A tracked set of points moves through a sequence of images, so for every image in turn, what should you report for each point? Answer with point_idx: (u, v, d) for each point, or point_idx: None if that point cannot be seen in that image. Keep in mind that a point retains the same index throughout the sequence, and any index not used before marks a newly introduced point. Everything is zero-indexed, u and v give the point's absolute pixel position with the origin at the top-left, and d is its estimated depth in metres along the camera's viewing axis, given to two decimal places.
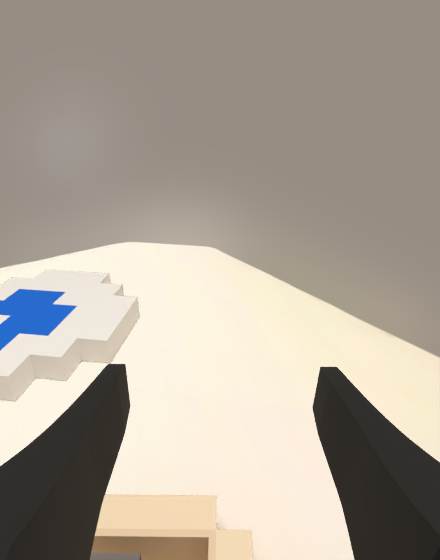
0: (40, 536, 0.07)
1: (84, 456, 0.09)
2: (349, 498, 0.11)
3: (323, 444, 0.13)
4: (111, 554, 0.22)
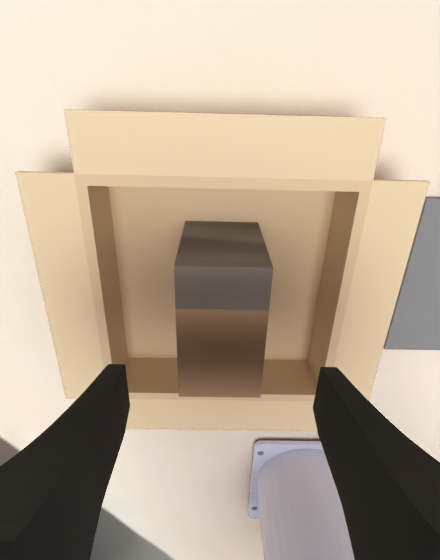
0: (40, 536, 0.07)
1: (84, 456, 0.09)
2: (349, 498, 0.11)
3: (323, 444, 0.13)
4: (230, 269, 0.15)
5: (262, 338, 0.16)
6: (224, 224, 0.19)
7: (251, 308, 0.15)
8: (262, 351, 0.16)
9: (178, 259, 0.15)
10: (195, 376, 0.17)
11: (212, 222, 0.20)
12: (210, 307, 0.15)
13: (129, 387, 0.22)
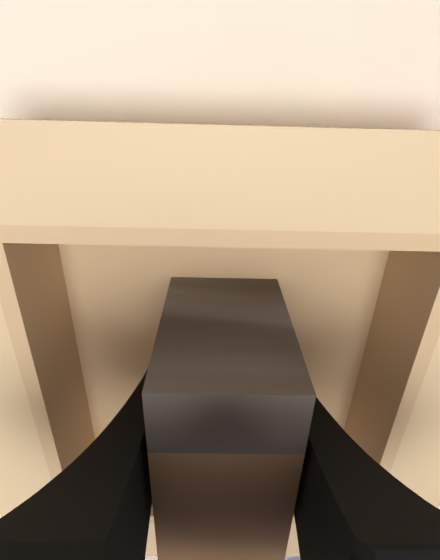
0: (118, 536, 0.07)
1: (142, 457, 0.09)
2: (297, 498, 0.11)
3: None
4: (241, 397, 0.08)
5: (291, 490, 0.10)
6: (228, 284, 0.13)
7: (275, 452, 0.09)
8: (290, 506, 0.10)
9: (151, 373, 0.09)
10: (183, 537, 0.11)
11: (210, 280, 0.13)
12: (206, 451, 0.09)
13: None
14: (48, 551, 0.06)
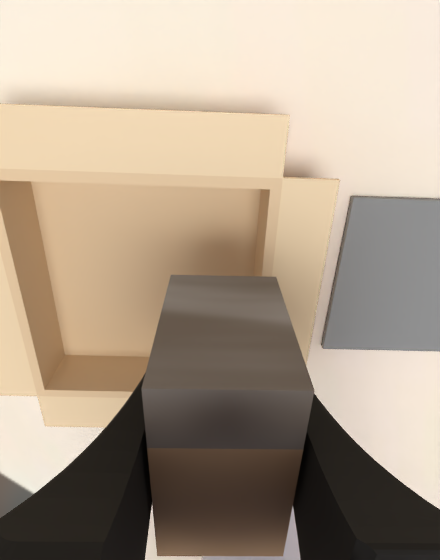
0: (118, 536, 0.07)
1: (142, 456, 0.09)
2: (297, 498, 0.11)
3: None
4: (240, 392, 0.08)
5: (290, 486, 0.10)
6: (227, 281, 0.13)
7: (274, 447, 0.09)
8: (289, 501, 0.10)
9: (151, 369, 0.09)
10: (182, 532, 0.11)
11: (209, 277, 0.14)
12: (205, 446, 0.09)
13: (59, 384, 0.21)
14: (48, 551, 0.06)
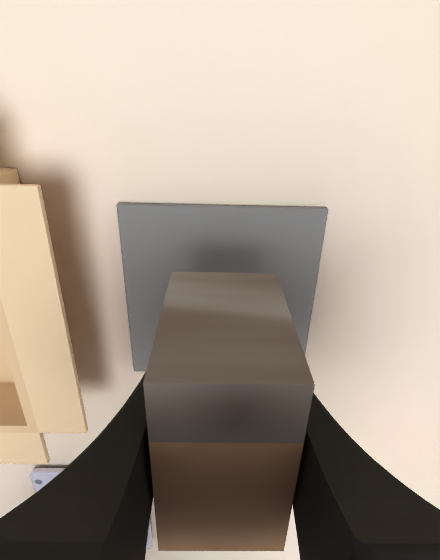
0: (118, 536, 0.07)
1: (142, 456, 0.09)
2: (297, 498, 0.11)
3: None
4: (240, 386, 0.08)
5: (290, 480, 0.10)
6: (228, 278, 0.13)
7: (274, 441, 0.09)
8: (289, 496, 0.10)
9: (152, 363, 0.09)
10: (183, 526, 0.11)
11: (210, 274, 0.14)
12: (206, 440, 0.09)
13: None
14: (48, 551, 0.06)
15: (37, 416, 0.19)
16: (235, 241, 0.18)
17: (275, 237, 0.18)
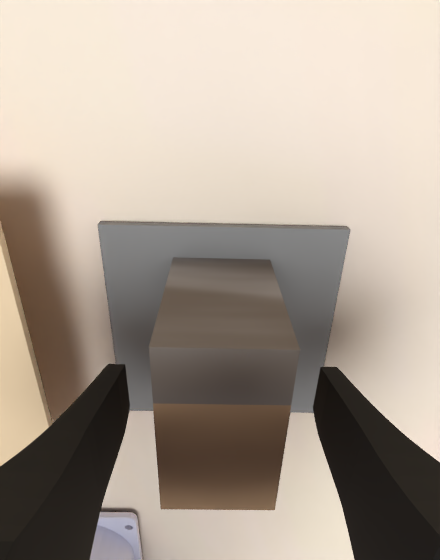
0: (40, 536, 0.07)
1: (84, 456, 0.09)
2: (349, 498, 0.11)
3: (323, 444, 0.13)
4: (234, 351, 0.10)
5: (280, 440, 0.11)
6: (225, 263, 0.14)
7: (265, 403, 0.10)
8: (279, 456, 0.11)
9: (156, 332, 0.10)
10: (183, 485, 0.12)
11: (209, 260, 0.15)
12: (204, 401, 0.10)
13: None
14: None
15: None
16: None
17: (286, 262, 0.15)
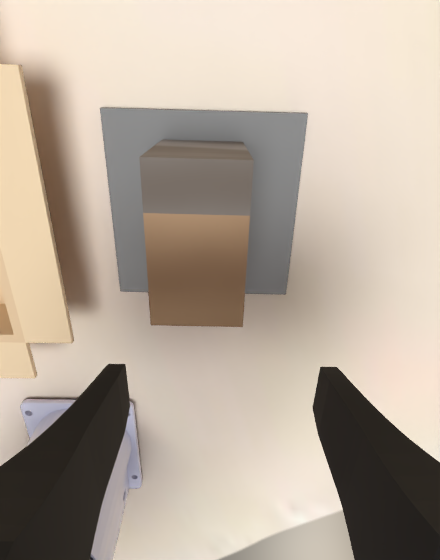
0: (40, 536, 0.07)
1: (83, 456, 0.09)
2: (349, 498, 0.11)
3: (323, 444, 0.13)
4: (204, 161, 0.13)
5: (243, 252, 0.14)
6: (205, 141, 0.18)
7: (229, 213, 0.14)
8: (243, 268, 0.15)
9: (146, 154, 0.13)
10: (168, 299, 0.15)
11: (192, 140, 0.18)
12: (183, 211, 0.13)
13: None
14: None
15: (23, 324, 0.19)
16: None
17: (256, 144, 0.18)
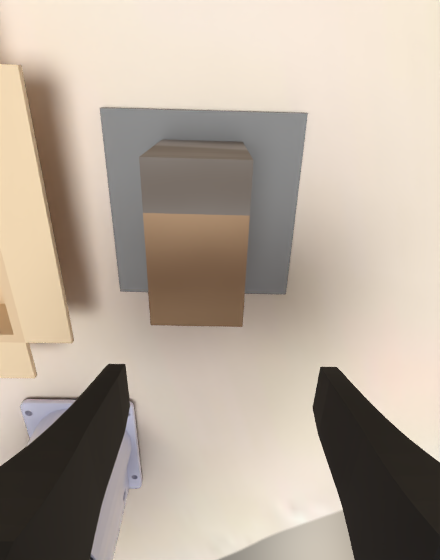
0: (40, 536, 0.07)
1: (84, 456, 0.09)
2: (349, 498, 0.11)
3: (323, 444, 0.13)
4: (204, 161, 0.13)
5: (243, 251, 0.14)
6: (204, 141, 0.18)
7: (229, 213, 0.14)
8: (243, 268, 0.15)
9: (145, 154, 0.13)
10: (168, 299, 0.15)
11: (191, 140, 0.18)
12: (182, 211, 0.13)
13: None
14: None
15: (23, 324, 0.19)
16: None
17: (256, 144, 0.18)
